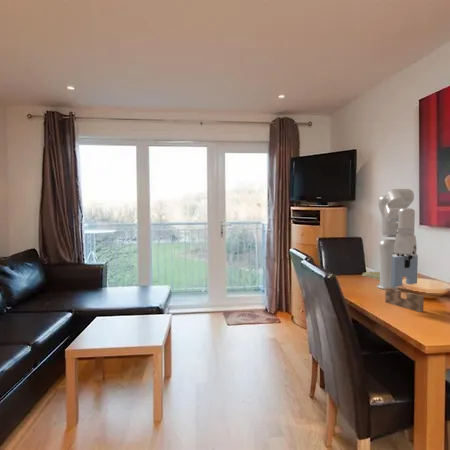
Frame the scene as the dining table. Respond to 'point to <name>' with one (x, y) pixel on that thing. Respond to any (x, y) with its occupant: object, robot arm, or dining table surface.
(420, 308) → the mottled stone notched panel
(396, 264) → the slate slotted plate
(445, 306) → the dining table surface
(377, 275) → the decorative tile
